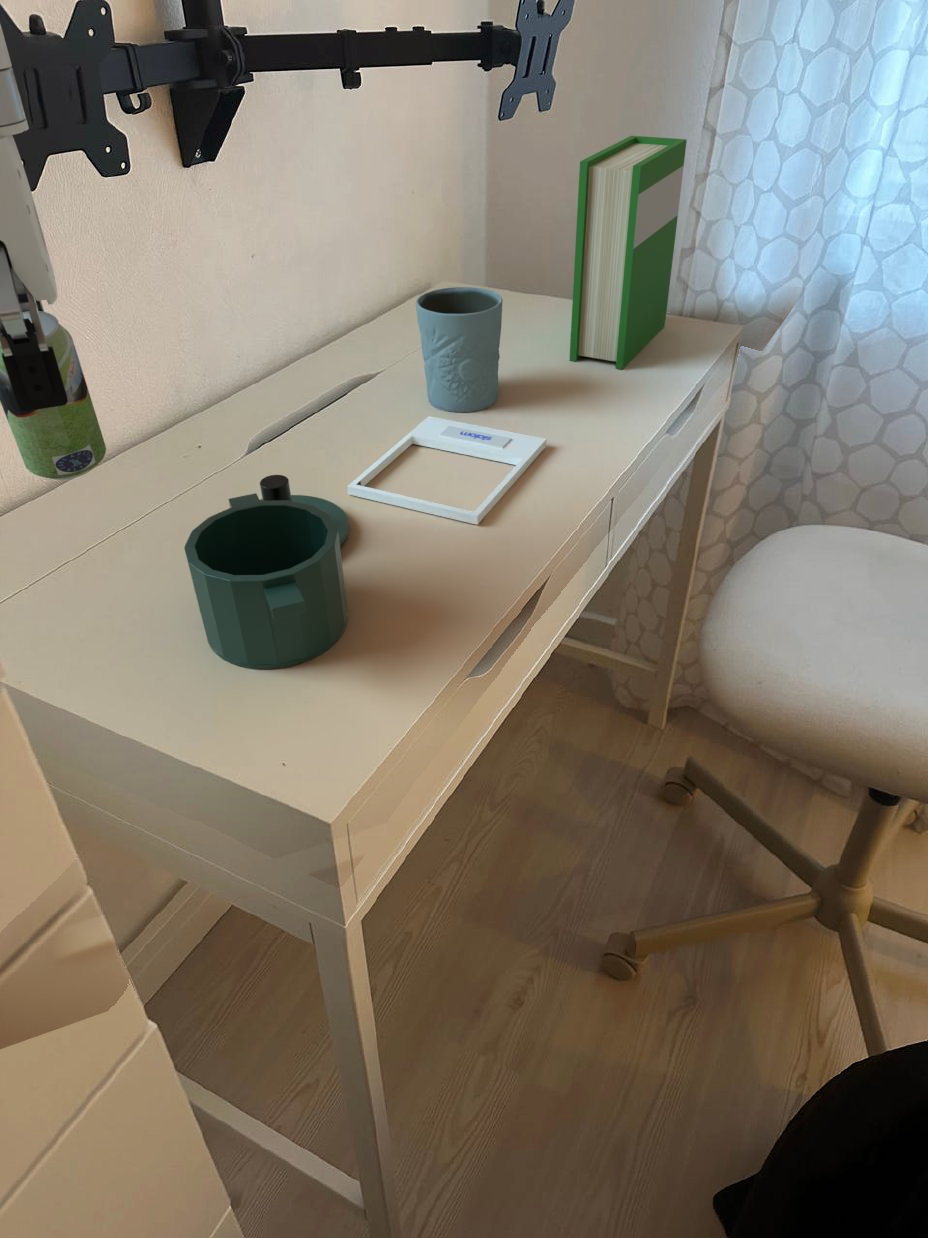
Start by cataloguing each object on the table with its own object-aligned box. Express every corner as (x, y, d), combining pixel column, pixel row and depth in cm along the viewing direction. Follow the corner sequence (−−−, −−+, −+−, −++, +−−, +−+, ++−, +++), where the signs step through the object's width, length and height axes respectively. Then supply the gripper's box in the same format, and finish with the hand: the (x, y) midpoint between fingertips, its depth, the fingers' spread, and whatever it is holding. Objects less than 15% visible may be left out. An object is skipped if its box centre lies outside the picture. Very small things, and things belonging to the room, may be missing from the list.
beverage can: (103, 444, 73) (61, 296, 66) (118, 481, 68) (74, 324, 61) (21, 461, 71) (-31, 309, 64) (31, 501, 66) (-25, 340, 59)
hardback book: (622, 369, 116) (640, 166, 101) (569, 360, 119) (580, 161, 104) (664, 326, 128) (686, 139, 114) (615, 318, 131) (631, 135, 116)
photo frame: (546, 437, 98) (477, 514, 85) (546, 446, 99) (477, 524, 86) (428, 414, 103) (346, 484, 91) (429, 423, 104) (348, 494, 91)
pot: (226, 707, 67) (204, 617, 61) (192, 586, 79) (171, 502, 74) (374, 667, 70) (365, 578, 65) (319, 556, 83) (307, 474, 77)
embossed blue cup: (478, 421, 105) (477, 319, 97) (404, 405, 108) (398, 306, 101) (515, 389, 112) (517, 292, 104) (445, 375, 116) (442, 280, 108)
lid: (229, 588, 79) (216, 529, 75) (206, 520, 88) (193, 464, 84) (366, 556, 82) (360, 498, 79) (330, 494, 92) (323, 439, 88)
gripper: (24, 120, 49) (107, 426, 60) (20, 87, 62) (89, 344, 73) (-130, 131, 47) (-15, 446, 57) (-101, 94, 60) (-11, 358, 70)
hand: (42, 387), depth 65 cm, fingers closed on beverage can, 6 cm apart
